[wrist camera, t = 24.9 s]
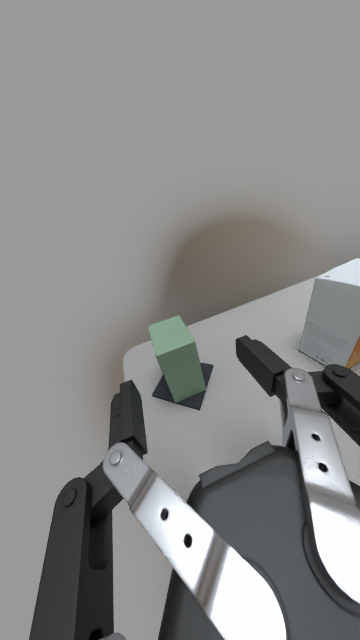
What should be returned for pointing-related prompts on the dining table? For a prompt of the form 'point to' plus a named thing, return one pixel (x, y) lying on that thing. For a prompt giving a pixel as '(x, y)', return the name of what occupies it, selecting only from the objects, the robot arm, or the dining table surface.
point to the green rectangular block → (177, 358)
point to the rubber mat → (193, 401)
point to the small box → (334, 317)
